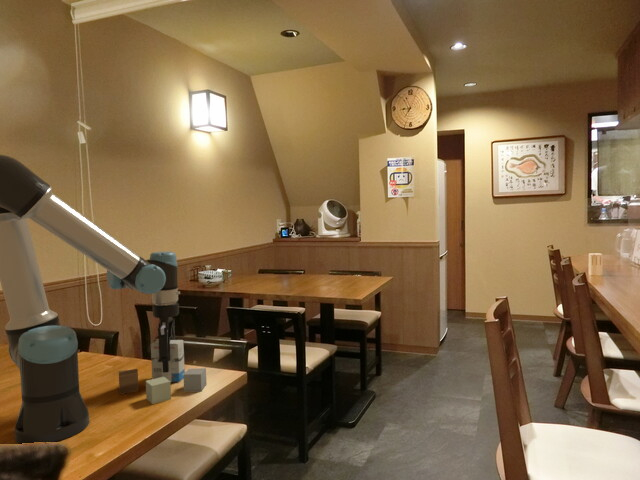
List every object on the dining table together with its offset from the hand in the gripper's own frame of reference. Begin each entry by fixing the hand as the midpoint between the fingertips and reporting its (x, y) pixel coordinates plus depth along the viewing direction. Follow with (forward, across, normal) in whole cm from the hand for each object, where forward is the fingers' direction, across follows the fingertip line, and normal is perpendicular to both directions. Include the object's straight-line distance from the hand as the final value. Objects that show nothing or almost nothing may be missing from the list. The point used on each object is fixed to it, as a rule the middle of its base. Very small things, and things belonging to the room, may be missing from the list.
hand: (168, 378), depth 139 cm
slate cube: (+1, -9, -9) cm, 13 cm away
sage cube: (+1, -15, 0) cm, 15 cm away
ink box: (+1, 0, 0) cm, 1 cm away
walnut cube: (+1, -6, +10) cm, 12 cm away
